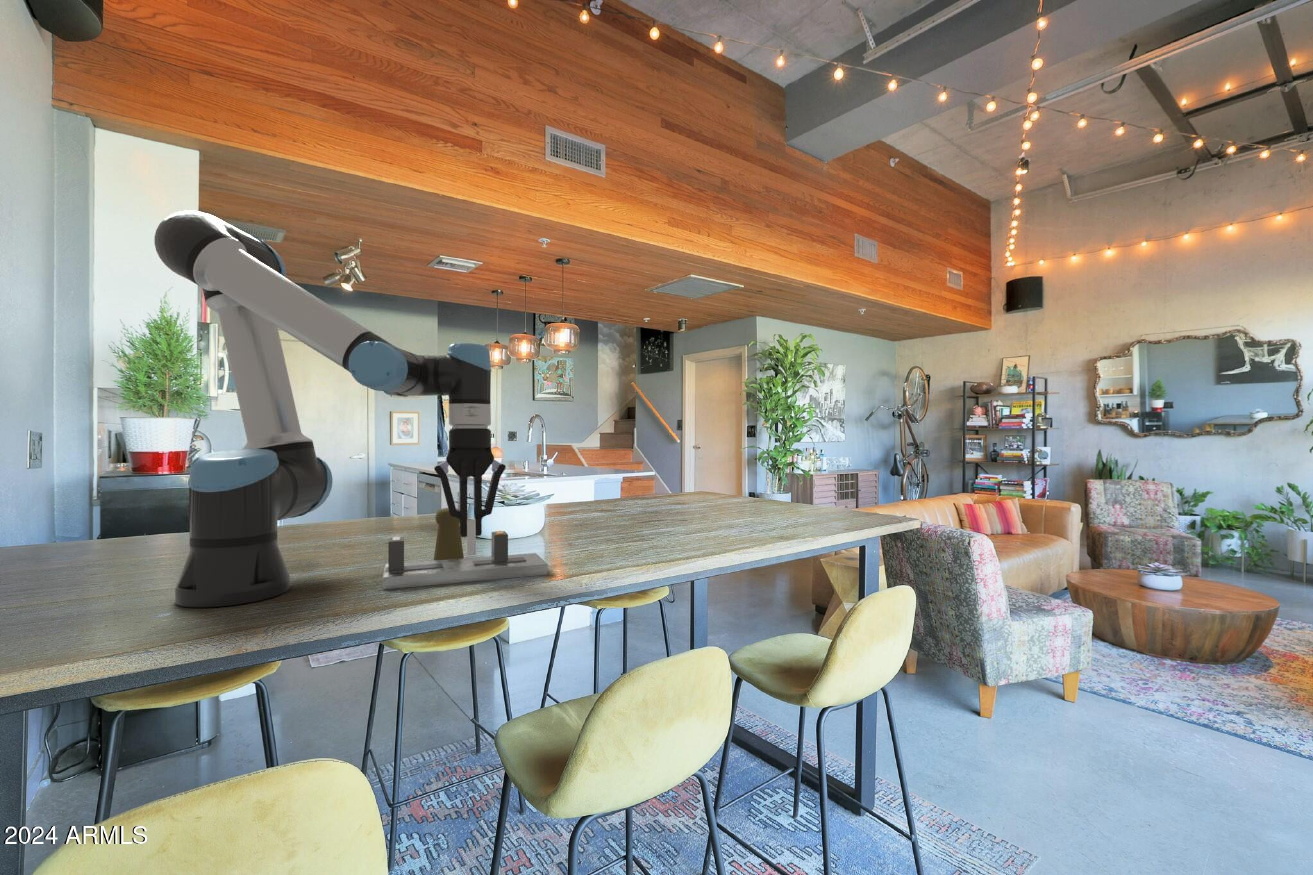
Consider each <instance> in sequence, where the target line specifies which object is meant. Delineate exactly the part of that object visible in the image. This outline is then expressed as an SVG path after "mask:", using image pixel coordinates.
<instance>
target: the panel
mask: <svg viewBox="0 0 1313 875" xmlns="http://www.w3.org/2000/svg"><path fill="white" fill-rule="evenodd" d="M548 567H549V565H548V563H547V562H546V561H545V560H544V559H543V558H542V557H541V556H539V554H538V553H537V552H531V553H520V554H519V553H518V554H508V561H502V562H494V561H493V559H492V558H491V556H479V557H477V556H475V557H464V558H463V559H449V560H436V561H434V560H425V561H411V562H404V569H401V570H389V571H388V563H385V564H384V567H383V568H384V570H383V575H382V590H392V589H394V590H395V589H405V588H413V587H424V586H425V587H427V586H437V585H448V584H459V583H469V582H481V581H492V580H493V581H494V580H501V579H513V578H526V577H537V576H545V575H549V574H548V572H549V571H548V569H549V568H548Z"/></svg>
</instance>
